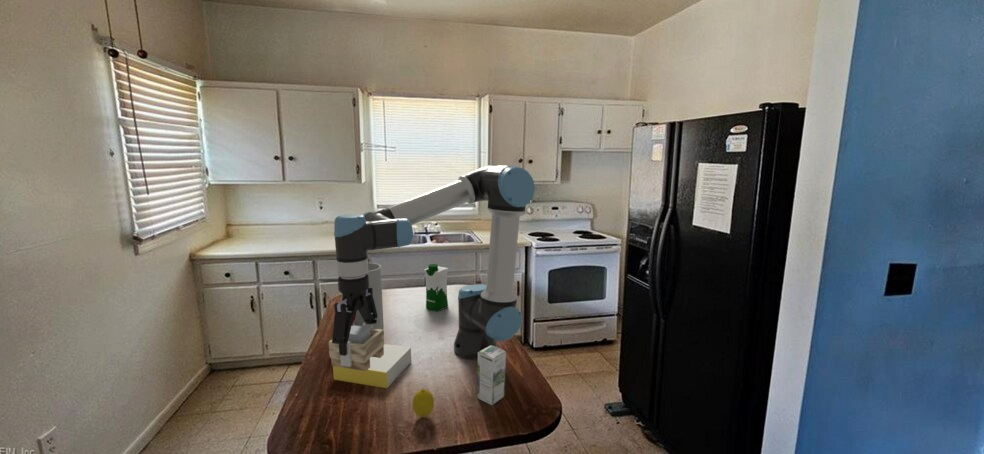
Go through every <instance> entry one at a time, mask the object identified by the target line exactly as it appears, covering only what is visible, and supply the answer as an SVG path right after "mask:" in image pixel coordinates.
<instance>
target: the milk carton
mask: <svg viewBox="0 0 984 454" xmlns="http://www.w3.org/2000/svg"><path fill="white" fill-rule="evenodd" d="M423 272H424V276H425V292H426V293H425V294H426V295H425V309H426V308H427V309H428V310H430V309H431V311H434V310H435V312H440V311H442V310H444V309H446V308H448V307H449V303H448V289H447V288H448V286H447V285H448V283H447V282H448V281H447V280H448V272H449V267H443V266H439V265H438V264H437V263H436V264H435V263H431V264H428V267H427V268H424V269H423ZM447 306H448V307H447ZM445 307H446V308H445ZM443 308H444V309H443ZM441 309H442V310H441ZM439 310H440V311H439Z"/></svg>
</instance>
